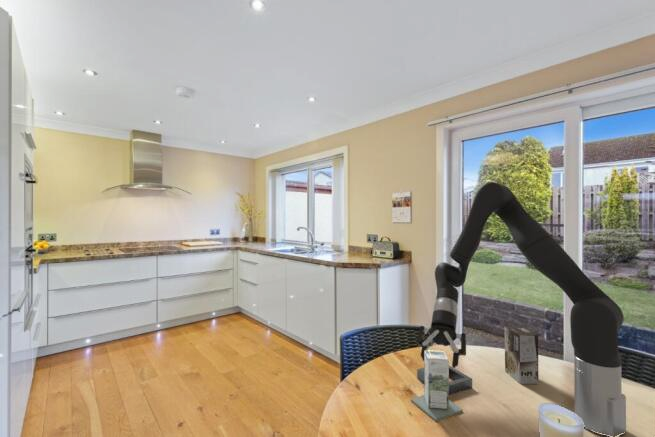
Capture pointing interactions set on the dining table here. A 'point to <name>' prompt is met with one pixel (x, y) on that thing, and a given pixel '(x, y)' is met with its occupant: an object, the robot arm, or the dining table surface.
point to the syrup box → (436, 379)
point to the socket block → (455, 386)
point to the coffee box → (521, 354)
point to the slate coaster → (436, 413)
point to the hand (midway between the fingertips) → (438, 363)
